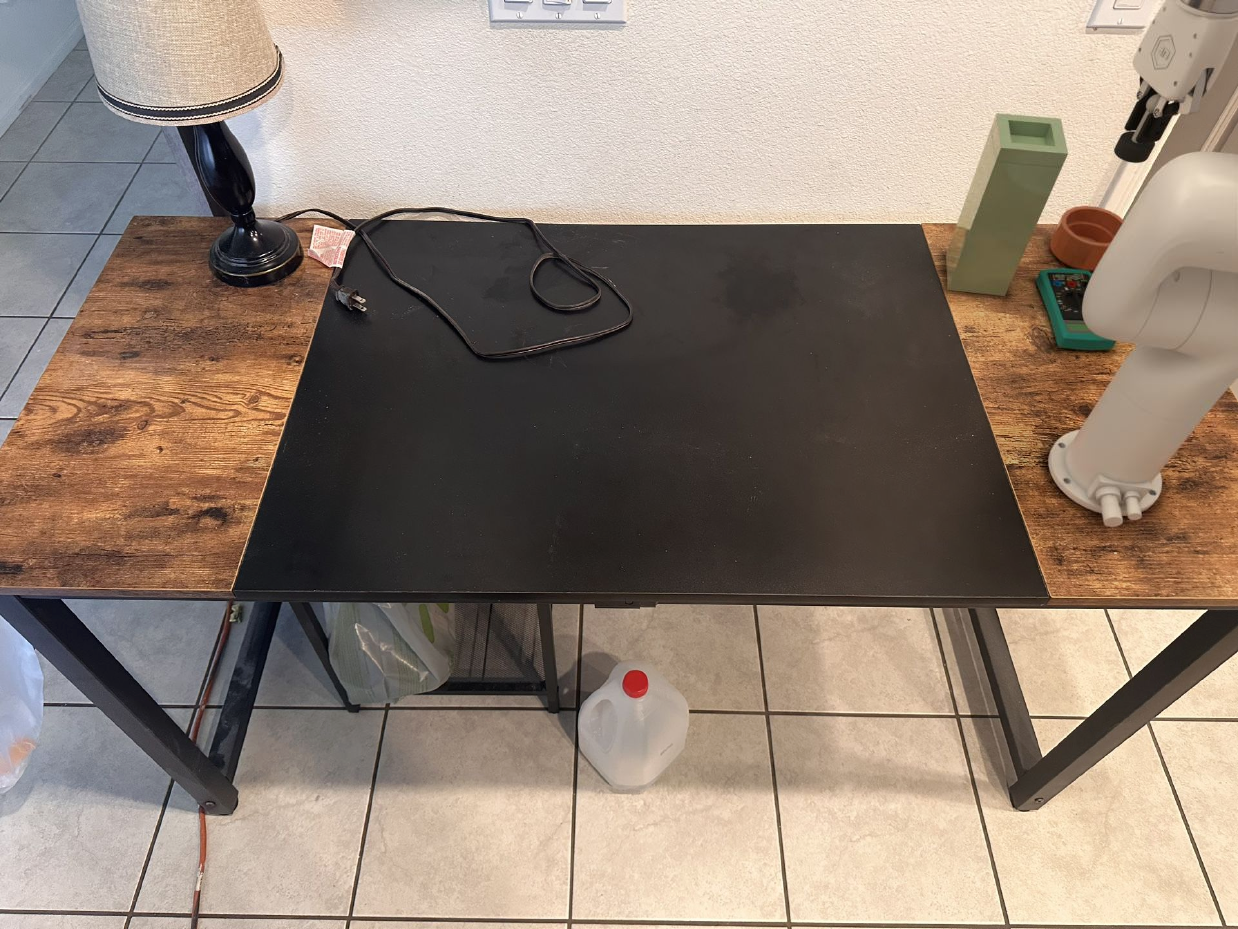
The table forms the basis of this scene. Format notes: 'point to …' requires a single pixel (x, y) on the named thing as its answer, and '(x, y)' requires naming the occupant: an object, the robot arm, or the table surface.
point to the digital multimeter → (1069, 308)
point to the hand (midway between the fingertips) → (1141, 134)
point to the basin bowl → (1084, 236)
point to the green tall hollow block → (1005, 202)
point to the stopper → (1127, 141)
